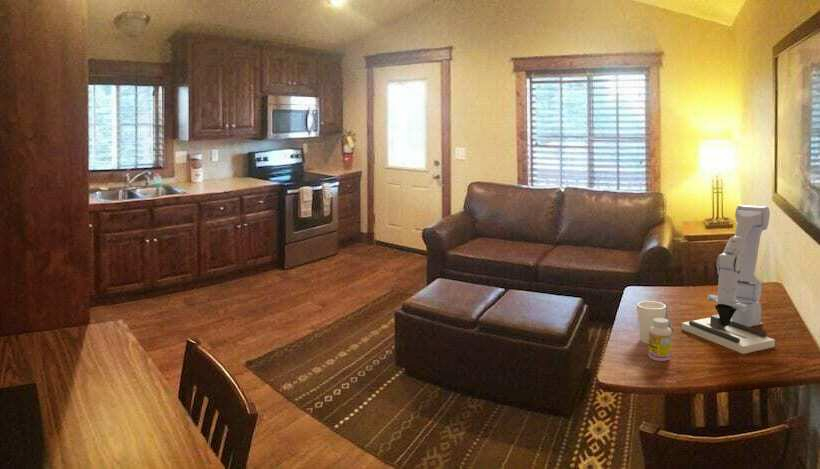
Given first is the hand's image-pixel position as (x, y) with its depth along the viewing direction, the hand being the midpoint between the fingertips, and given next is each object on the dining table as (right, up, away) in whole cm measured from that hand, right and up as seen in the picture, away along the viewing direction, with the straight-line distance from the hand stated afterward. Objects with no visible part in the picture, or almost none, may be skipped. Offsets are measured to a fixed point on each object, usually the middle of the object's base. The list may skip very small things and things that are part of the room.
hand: (725, 325), depth 208 cm
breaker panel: (0, -4, 0) cm, 4 cm away
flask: (-17, -3, +11) cm, 21 cm away
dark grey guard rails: (0, -2, 0) cm, 2 cm away
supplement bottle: (-29, -8, -15) cm, 34 cm away
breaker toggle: (-1, -1, +3) cm, 3 cm away
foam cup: (-26, -6, 0) cm, 27 cm away
